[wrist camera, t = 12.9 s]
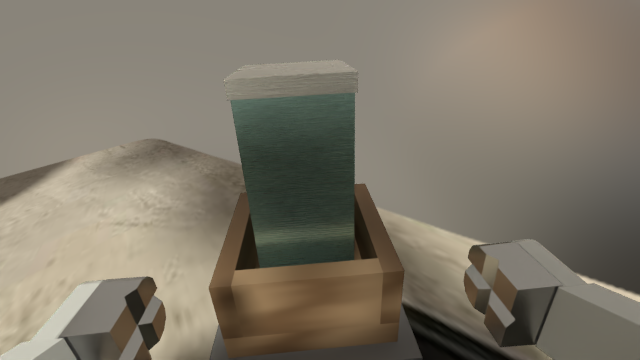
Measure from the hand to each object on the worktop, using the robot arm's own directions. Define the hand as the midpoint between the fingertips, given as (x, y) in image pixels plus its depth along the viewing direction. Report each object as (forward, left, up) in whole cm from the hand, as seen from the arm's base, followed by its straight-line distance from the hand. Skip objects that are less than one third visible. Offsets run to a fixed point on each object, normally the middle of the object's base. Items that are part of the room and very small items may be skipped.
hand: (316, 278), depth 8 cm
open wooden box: (0, +9, -9) cm, 13 cm away
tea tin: (0, +9, -8) cm, 12 cm away
